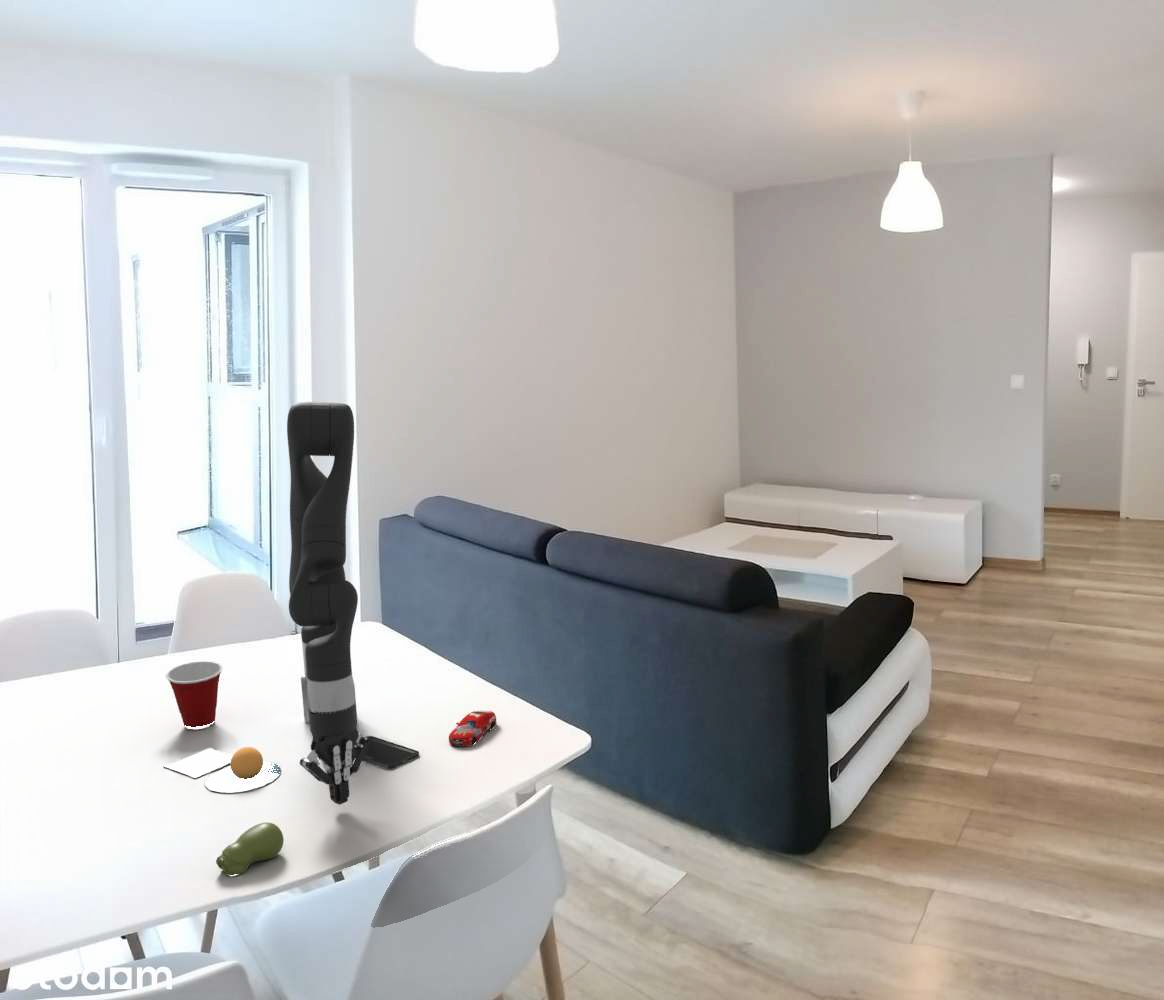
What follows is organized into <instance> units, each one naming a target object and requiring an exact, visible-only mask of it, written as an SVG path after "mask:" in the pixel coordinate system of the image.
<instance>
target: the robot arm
mask: <svg viewBox="0 0 1164 1000" xmlns="http://www.w3.org/2000/svg"><path fill="white" fill-rule="evenodd" d="M286 421H287V422H286V433H287V435H286V437H287V445H288V446H287V447H288V457H289V466H290V467H289V468H290V492H289V493H290V494H289V497H290V498H289V523H290V524H289V525H290V538H291V540H290V541H291V550H290V551H291V553H290V564H289V580H288V582H289V583H288V588H289V600H288V612H289V615H290V618H291V620H292V621H293V622H294V623H295V624H296V625H298V627H299V626H300V627H301V629H300V630H301V631H300V635H301V636H300V637H301V646H302V647H301V648H302V656H303V669H304V674H303V675H302V676H301V678H300V685H301V697H302V706H303V719H304V722H307V723H309V731H310V733H311V735H312V736H311V737H312V740H311V744H310V752H309V753H308V755H307V756H306V757H302V758H301V759H300V760H299V765H300V766H301V767H302V768H303V769H304V770H306V772H308V773H309V774H310V775H311V776H312V777H313V778H314V779H315V780H317V781H318V782H321V783H323V784H325V785H327V786H328V788H329V789H328V790H329V798H330V800H331V801H332V802H333V803H334V804H336V805H338V806H340V805H343V804H344V803H347V802H348V801H349V797H350V783H349V779H350V777H351V776H352V774H356V773H357V772H358V771H359V769H360V767H361V765H362V762H364V761H363V759H364V756H365V754H366V752H367V750H368V748H369V745H370V743H371V739H369V738H366V736H363V735H361V734H360V731H359V730H358V711H357V699H356V686H355V682H354V677H353V671H352V656H351V640H352V639H351V638H352V631H353V626H354V622H355V616H356V613H357V610H358V603H359V597H358V593H357V589H356V588H355V586H354V584H353V583H352V582H350V581H348V580H346V572H345V569H344V565H345V563H346V559H347V507H348V500H349V492H350V486H351V485H350V484H351V477H352V476H351V475H352V466H353V465H352V464H353V458H354V457H353V456H354V455H353V454H354V442H355V441H354V440H355V419H354V413H353V410H352V408H351V406H350V405H348V404H347V403H342V402H325V401H324V402H323V401H299V402H294V403H293V404H292V405H291V407H290V408H289V410H288V414H287V420H286ZM313 456H314V457H334V458H333V465H332V466H331V467H332V468H331V471H330V473H329V475H328V476H327V475H325V474H324V473H323V472H322V471H321V470H320V469H319V468H318V467H317V466H316V464H315V462H314V461H313V459H312V457H313ZM318 759H319V760H320V761H321V764H322V767H323V769H324V770H323V769H322V768H321V767H320V761H319V760H318Z"/></svg>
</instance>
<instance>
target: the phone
mask: <svg viewBox="0 0 1164 1000" xmlns="http://www.w3.org/2000/svg"><path fill="white" fill-rule="evenodd" d="M365 737H366V738H369V739H371V743H370V745H369V748H368V750H367V752H366V754H365V756H364V759H363V761H362V762H364V763H368V764H370V765H373V766H375V767H376V766H377V767H378V768H382V769H385V770H393V769H396V768H398V767H401V766H403V765H404V764H405V763H409V762H411V761H414V760H416V759H418V758H419V757H420V752H419V750H416V749H412V748H410V747H406V746H404V745H401V744H398V743H394V742H391V741H389V740H386V739H382V738H379V737H376V736H373V735H367V736H365ZM415 758H416V759H415ZM413 759H414V760H413Z"/></svg>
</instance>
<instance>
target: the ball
mask: <svg viewBox="0 0 1164 1000" xmlns="http://www.w3.org/2000/svg"><path fill="white" fill-rule="evenodd" d="M232 755H233V757H232V759H231V764H230V765H231V769H232V771H233V773H234V774H235V775H236V776H237V777H239V778H244V779H247V778H252V777H254V776H255V775H257V774H258V773H259V772H260V770H261V768H262V765H263V761H264V759H263V755H262V753H261V751H259V750H258V749H257V748H255V747H251V746H243V747H241V748H238V750H236V751H235V752H234V753H233V754H232Z"/></svg>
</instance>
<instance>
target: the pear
mask: <svg viewBox="0 0 1164 1000" xmlns="http://www.w3.org/2000/svg"><path fill="white" fill-rule="evenodd" d="M283 834H284V833H283V832H282V830H281V829H280V827H279V826H278V825H276V824H275V823H272V822H266V821H265V822H261V823H258V824H256V825H254V826H252V827H250V828H248V829H247V830H245V831H244V832H243V833H241V835H240V836H238V838H237V839H236V840H235V841H234V842H233V843H231V844H229V845H227V846H226V847H225V848H224V849H223V850H222V851H221V854H220V855H219V856H218V857H217V858H216V860H215V862H216V865H217V866H218V868H219V869H220V870H221V869H222V870H223V871H225V872H226V873H227V874H229V875H234V874H241V873H242V874H244V873H245V872H246V871H247V869H248V868H249V866H250V865H251V864H253V863H256V862H260V861H261V862H262V861H267V860H271V859H273V858H275V857H276V856H277V855H278V854H279V853H280V852H281V851H282V850H283V849H282V848H283V847H284V840H285V839H284V835H283ZM222 870H221V871H222ZM223 871H222V872H223ZM225 872H224V873H225ZM226 873H225V874H226ZM227 874H226V875H227ZM242 874H241V875H242Z"/></svg>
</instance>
